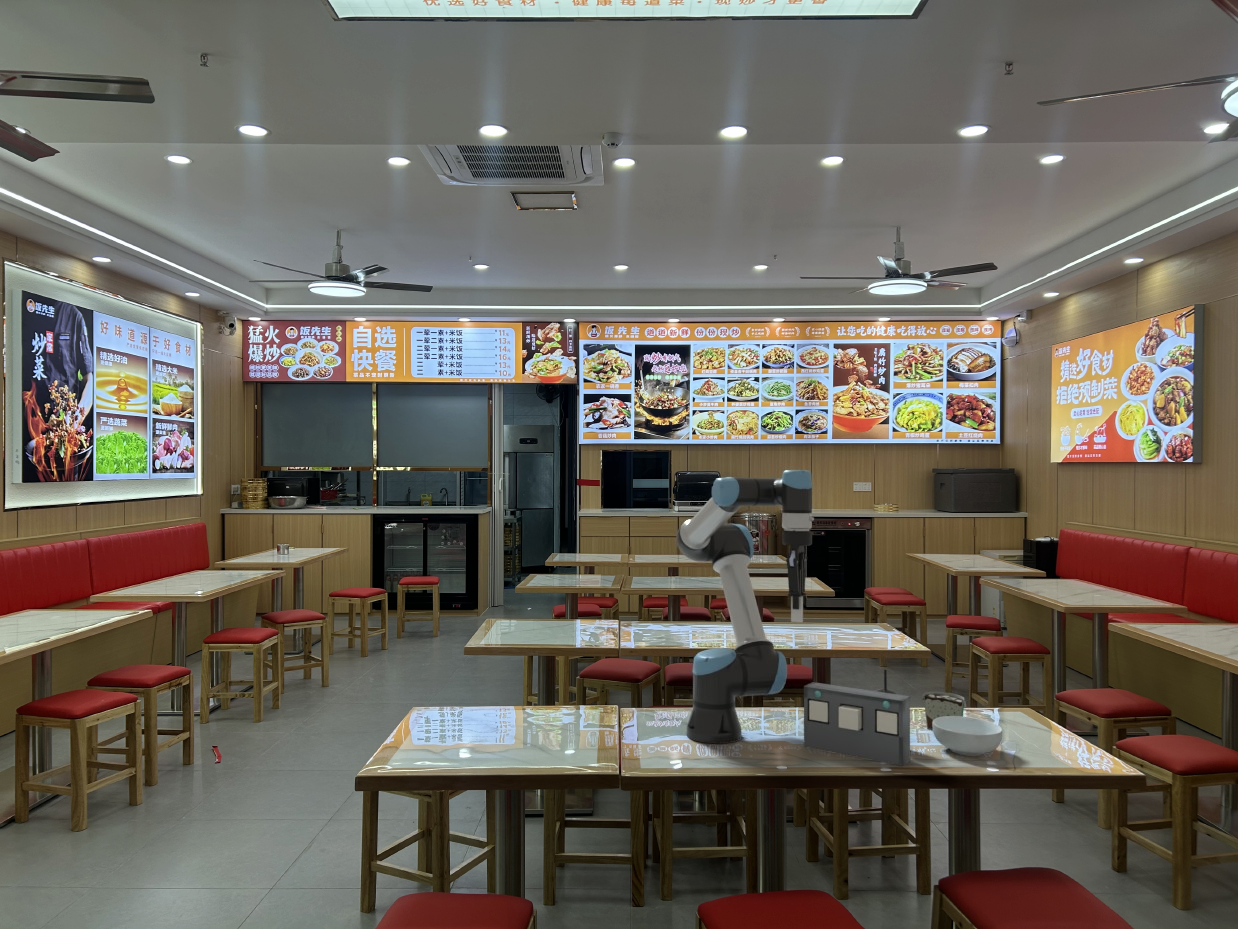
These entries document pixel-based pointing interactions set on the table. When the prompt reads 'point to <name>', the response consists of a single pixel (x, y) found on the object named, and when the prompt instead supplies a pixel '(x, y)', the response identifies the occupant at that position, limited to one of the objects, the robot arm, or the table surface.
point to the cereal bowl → (967, 734)
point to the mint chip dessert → (942, 706)
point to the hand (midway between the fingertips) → (796, 621)
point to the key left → (819, 710)
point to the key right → (888, 721)
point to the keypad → (867, 738)
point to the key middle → (851, 717)
